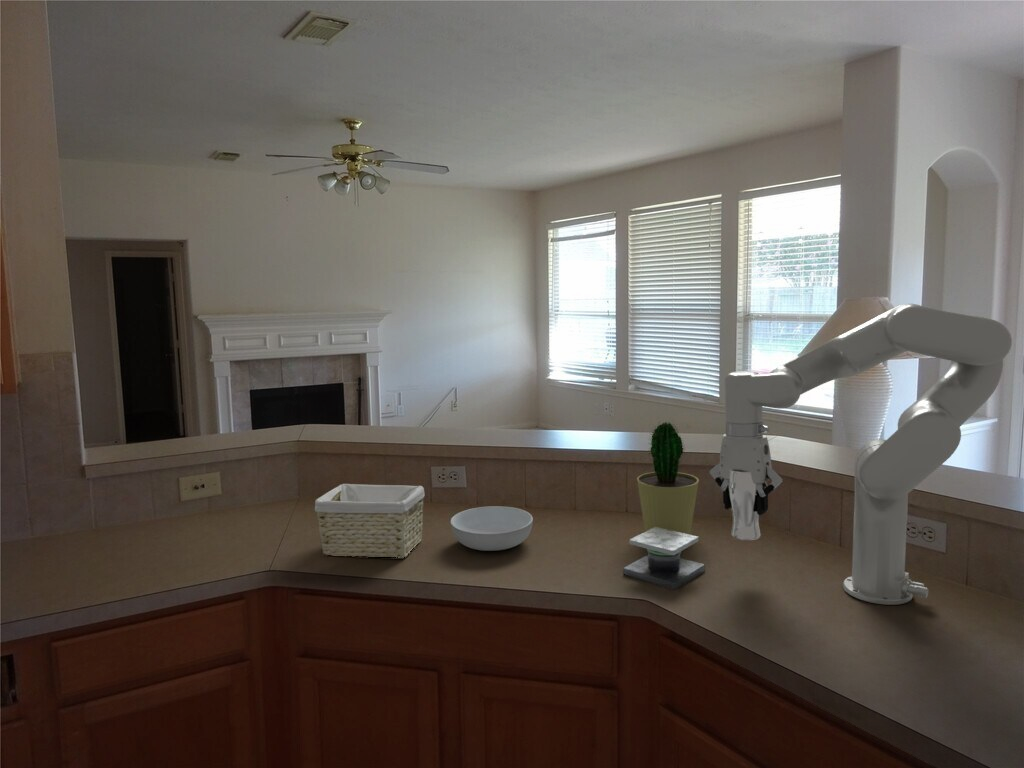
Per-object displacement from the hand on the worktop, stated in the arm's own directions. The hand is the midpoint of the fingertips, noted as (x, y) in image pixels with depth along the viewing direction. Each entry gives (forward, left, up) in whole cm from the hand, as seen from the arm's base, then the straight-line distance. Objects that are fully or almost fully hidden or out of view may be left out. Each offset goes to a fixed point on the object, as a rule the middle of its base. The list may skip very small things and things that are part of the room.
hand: (745, 509), depth 153 cm
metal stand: (+15, +9, -15) cm, 23 cm away
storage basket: (+80, +41, -15) cm, 91 cm away
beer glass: (0, 0, -6) cm, 6 cm away
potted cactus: (+27, -13, -15) cm, 33 cm away
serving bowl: (+58, +20, -15) cm, 63 cm away
